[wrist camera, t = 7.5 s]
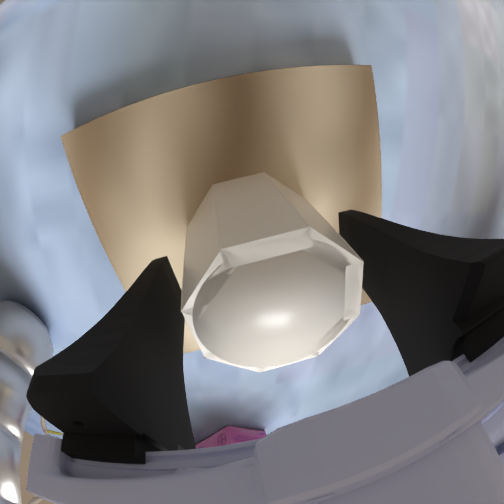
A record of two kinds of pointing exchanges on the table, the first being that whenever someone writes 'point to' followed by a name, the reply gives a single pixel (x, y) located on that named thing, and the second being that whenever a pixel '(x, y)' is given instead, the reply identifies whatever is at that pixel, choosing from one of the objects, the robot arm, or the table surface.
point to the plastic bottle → (17, 387)
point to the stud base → (225, 156)
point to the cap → (266, 276)
